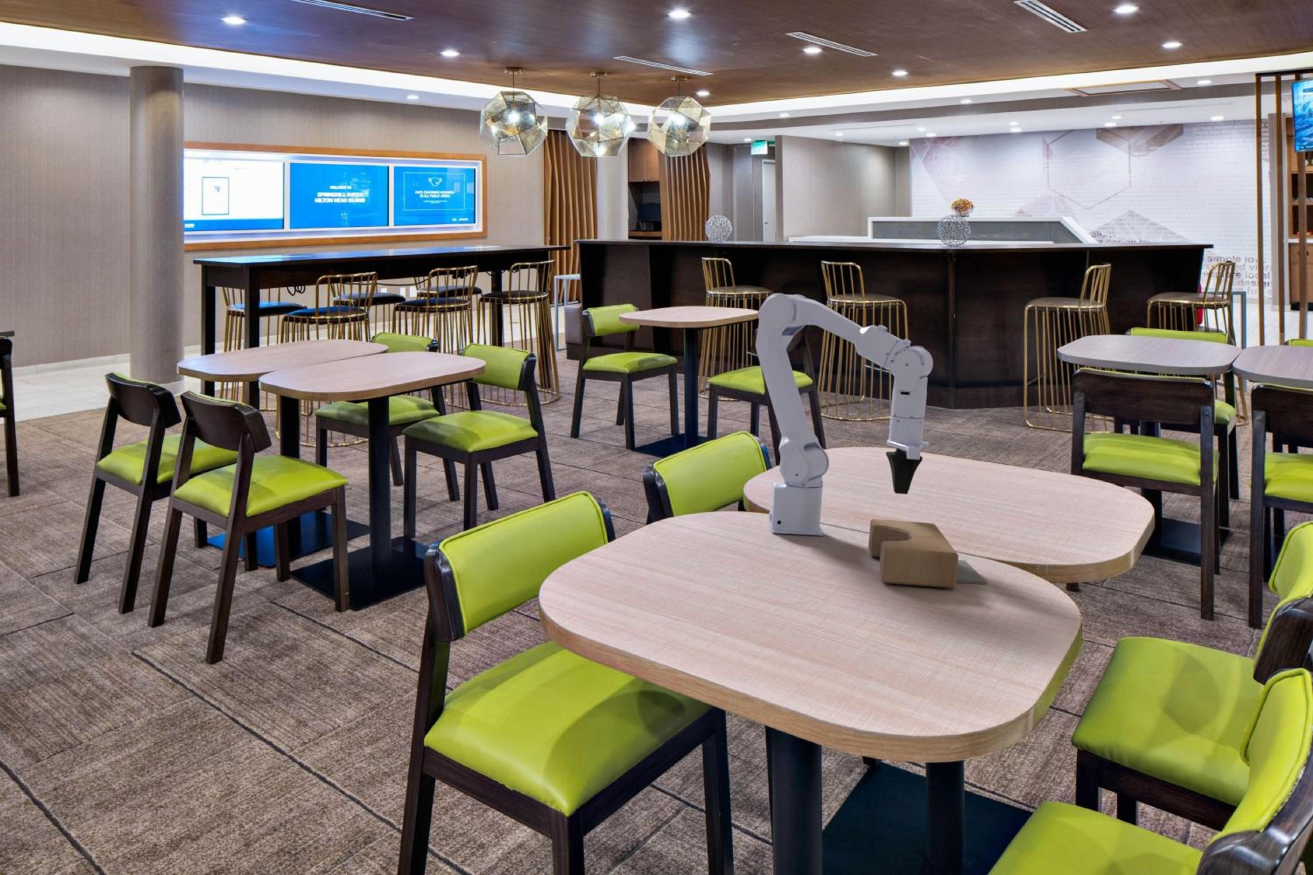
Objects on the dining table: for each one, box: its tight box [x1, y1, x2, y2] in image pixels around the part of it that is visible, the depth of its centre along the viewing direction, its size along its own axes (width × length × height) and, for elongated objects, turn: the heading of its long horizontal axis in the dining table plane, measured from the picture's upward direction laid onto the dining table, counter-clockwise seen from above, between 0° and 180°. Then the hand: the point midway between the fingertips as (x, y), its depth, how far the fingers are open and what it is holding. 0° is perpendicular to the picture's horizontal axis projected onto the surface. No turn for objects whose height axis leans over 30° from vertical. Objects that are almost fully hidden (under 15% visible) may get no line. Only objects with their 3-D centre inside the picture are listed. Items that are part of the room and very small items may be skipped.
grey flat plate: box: [956, 559, 988, 585], centre depth 154 cm, size 14×12×1 cm
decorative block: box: [867, 518, 959, 589], centre depth 153 cm, size 11×6×20 cm
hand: (900, 493), depth 166 cm, fingers closed
